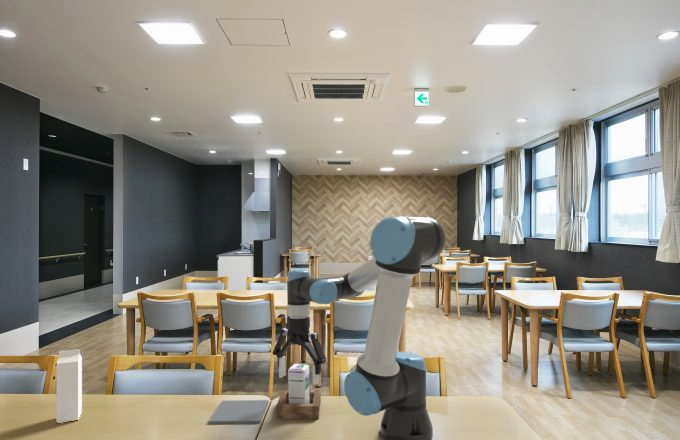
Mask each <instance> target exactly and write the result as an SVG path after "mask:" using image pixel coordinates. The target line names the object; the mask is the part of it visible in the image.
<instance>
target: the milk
mask: <svg viewBox="0 0 680 440" xmlns="http://www.w3.org/2000/svg"><path fill="white" fill-rule="evenodd" d="M55 388H56V405H55V406H56V412H55V413H56V419H55V421H56V422H63V421H71V420H78V419H79V420H80V418H81V416H82V414H81V413H83V357H82V354H81V349H80V348H79V349H68V350H59V351H58V357H57V360H56V387H55ZM80 415H81V416H80ZM79 417H80V418H79ZM79 420H78V421H79Z"/></svg>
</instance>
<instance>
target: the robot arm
mask: <svg viewBox="0 0 680 440" xmlns="http://www.w3.org/2000/svg"><path fill="white" fill-rule="evenodd" d="M445 231H446V230H445V229H444V227H443V225H442V224H441V223H440V222H439V221H437V220H436V219H434V218H431V217H428V216H402V215H398V216H397V215H396V216H390V217H386V218H384V219H382V220H381V221H379V222H378V223H377V224H376V225H375V227H374V228H373V230H372V232H371V235H370V240H369V244H370V245H369V247H370V249H371V255H372V256H373V258H370V259H369V260H367V261H366V262H364V263H362V264H360V265H359V266H357V267H355V268H353V269H352V270H351V271H349V272H348V273H345V274H343V275H340V276H339V275H337V276H329V277H321V278H320V277H319V278H315V277H311V272H310V271H309V270H308V269H300V268H299V269H290V270H289V271H288V272H287V281H286V287H287V288H286V289H287V290H286V292H287V293H286V294H287V297H286V298H287V303H286V306H287V307H286V308H287V309H286V310H287V312H286V313H287V314H286V315H287V316H288V317H287V320H286V321H287V322H286V323H287V324H286V326H287V327H284V328H281V329H280V331H279V336H278V339H277V342H276V344H275V346H274V348H273V350H272V356H276V357H277V367H278V378H280V379H281V378H284V377H285V376H287V373H286V371H287V369H286V368H287V364H286V363H287V361H286V358H287V356H285V354H286V353H287V352H288V350H289V349H290V347H292V345H298V346H301V347H302V348H304V349H305V351H306V352H307V354H308V355H309V357H310V358H311V361H312V362H313V364H312V386H316V385H317V384H319V383H320V374H322V365H323V364H325V363H326V362H327V357H326V356H325V352H324V350H323V348H322V344H321V342H320V340H319V334H318V331H316V332H310V328H311V317H310V315H311V303H314V304H318V305H329V304H332V303H333V302H334V301H337V300H343V299H354V298H356V297H359V296H362V295H363V294H364V292H365V291H366V290H367V289H369V288H371V287H372V286H375V285H376V289H375V294H374V300H373V305H372V309H371V310H372V311H371V316H370V321H369V326H368V332H367V337H366V340H365V341H366V342H365V347H364V353H362V354H359V356H358V357H357V360H356V365H355V370H354V371H353V370H351V372H349V373H348V374H346V376H345V378H344V383H343V388H344V393H345V397H346V399H347V401H348V404H349V405H350V407H352V409H353V410H354V411H355V412H356V413H358V414H359V415H361V416H366V417H367V416H372V415H376V414H379V413H380V412H382V411H383V416H382V419H381V421H380V434H381V436H382V437H383V438H384V439H385V440H431V439H432V438H433V437H434V435H433V432H434V429H433V428H434V427H433V424H432V421H431V418H430V415H429V413H428V412H429V411H428V409H427V367H426V360H425V358H424V357H423V356H421V355H419V354H417V353H412V352H408V351H407V352H406V351H398V350H399V344H400V340H401V335H402V330H403V325H404V321H405V315H406V310H407V305H408V301H409V296H410V293H411V292H410V291H411V286H412V281H413V278H414V277H416V276H418V275H419V274H420V271H421V266H422V264H424V263H427V262H428V261H431V260H433V259H435V258H437V257H439V255H441V254H442V252H443V251H444V248H445V247H446V243H447V235H446V232H445ZM287 336H288V339H287V340H286V338H287ZM285 340H286V343H285Z"/></svg>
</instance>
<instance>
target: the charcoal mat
mask: <svg viewBox="0 0 680 440" xmlns="http://www.w3.org/2000/svg"><path fill="white" fill-rule="evenodd" d="M268 404H269V400H268V399H263V400H262V399H261V400H257V399H256V400H255V399H254V400H253V399H252V400H247V399H246V400H245V399H244V400H238V399H237V400H222V401H221V402H220V404H219V405H218V407H217V408H216V410H215V411H214V413H213V414H212V415H211V417H210V418H209V420H208V424H209V425H213V424H214V425H219V424H220V425H223V424H227V425H228V424H229V425H231V424H232V425H233V424H234V425H235V424H237V425H238V424H261V422H262V420H263V418H264V417H263V416H264V415H265V412H266V409H267V406H268Z"/></svg>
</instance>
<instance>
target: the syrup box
mask: <svg viewBox="0 0 680 440" xmlns="http://www.w3.org/2000/svg"><path fill="white" fill-rule="evenodd" d="M287 371H288V372H287V373H288V374H287V377H288V379H287V381H288V390H289V404H310V387H311V384H310V365H309V364H308V363H293V365H291V366H290V367H289V368H288V370H287Z"/></svg>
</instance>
